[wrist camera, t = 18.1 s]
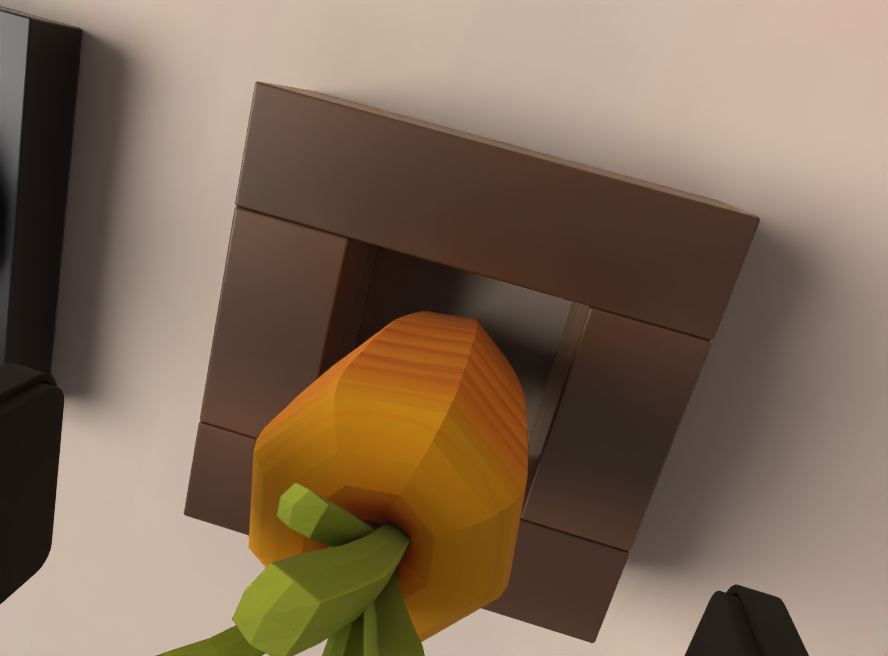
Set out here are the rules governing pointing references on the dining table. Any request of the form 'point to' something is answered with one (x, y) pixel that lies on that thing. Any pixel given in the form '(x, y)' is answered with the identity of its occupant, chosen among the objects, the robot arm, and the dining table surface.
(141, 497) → the dining table surface
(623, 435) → the holder
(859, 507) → the dining table surface
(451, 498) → the carrot
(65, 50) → the panel
